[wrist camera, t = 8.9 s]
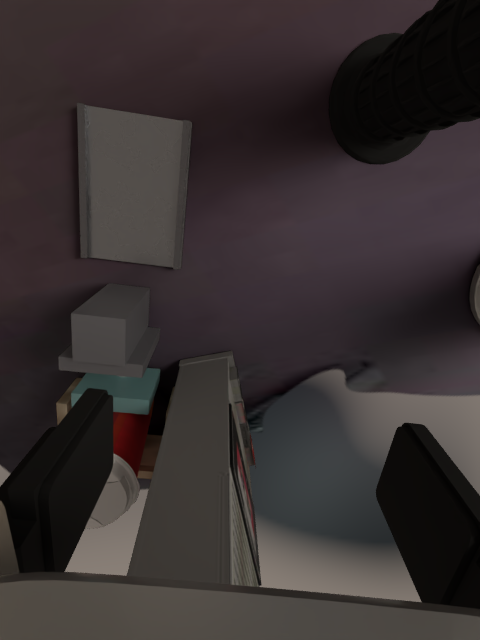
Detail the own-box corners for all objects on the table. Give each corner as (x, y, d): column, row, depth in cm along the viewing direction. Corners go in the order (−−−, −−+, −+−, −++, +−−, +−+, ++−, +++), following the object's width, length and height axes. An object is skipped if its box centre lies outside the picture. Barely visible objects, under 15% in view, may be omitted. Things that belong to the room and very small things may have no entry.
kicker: (165, 289, 34) (145, 321, 26) (159, 381, 38) (141, 435, 30) (93, 281, 34) (49, 311, 25) (94, 375, 38) (56, 429, 29)
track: (192, 123, 31) (191, 120, 29) (181, 267, 35) (180, 269, 34) (80, 105, 30) (75, 102, 29) (84, 255, 34) (79, 257, 33)
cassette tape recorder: (253, 447, 43) (288, 747, 20) (206, 455, 43) (184, 763, 20) (234, 349, 38) (248, 594, 15) (180, 358, 39) (112, 616, 15)
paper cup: (89, 414, 41) (25, 521, 28) (105, 359, 38) (42, 447, 25) (154, 432, 42) (122, 542, 29) (173, 380, 40) (147, 474, 26)
